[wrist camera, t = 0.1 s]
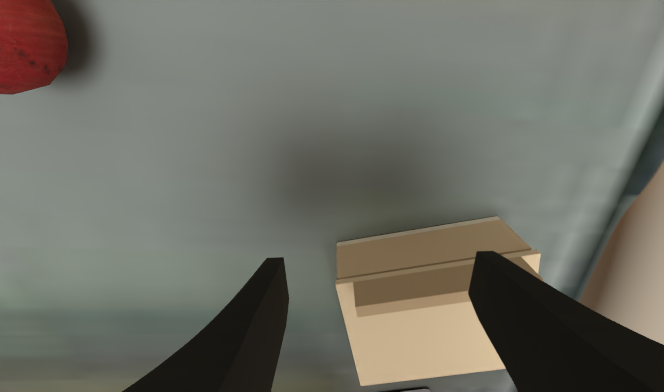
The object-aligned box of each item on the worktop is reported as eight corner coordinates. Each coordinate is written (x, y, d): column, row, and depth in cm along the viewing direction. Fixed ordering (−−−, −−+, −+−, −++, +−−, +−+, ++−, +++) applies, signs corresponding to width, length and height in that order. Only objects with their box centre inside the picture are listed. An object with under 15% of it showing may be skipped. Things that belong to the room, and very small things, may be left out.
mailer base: (492, 314, 26) (519, 356, 22) (357, 332, 27) (361, 376, 23) (497, 215, 21) (531, 248, 18) (336, 242, 22) (337, 278, 19)
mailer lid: (523, 360, 22) (544, 394, 19) (360, 380, 23) (363, 414, 21) (536, 249, 17) (565, 276, 15) (335, 280, 18) (335, 310, 16)
